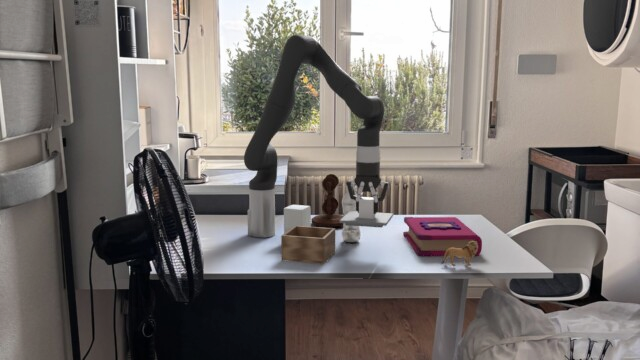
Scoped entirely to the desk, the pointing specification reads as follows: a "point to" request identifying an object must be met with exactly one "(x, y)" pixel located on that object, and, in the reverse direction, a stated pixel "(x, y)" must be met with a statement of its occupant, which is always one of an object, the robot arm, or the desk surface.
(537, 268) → the desk surface
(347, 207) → the plastic bottle
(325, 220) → the brown wooden sculpture
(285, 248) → the box
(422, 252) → the book
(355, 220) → the lid
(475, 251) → the lion figurine
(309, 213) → the supplement box
